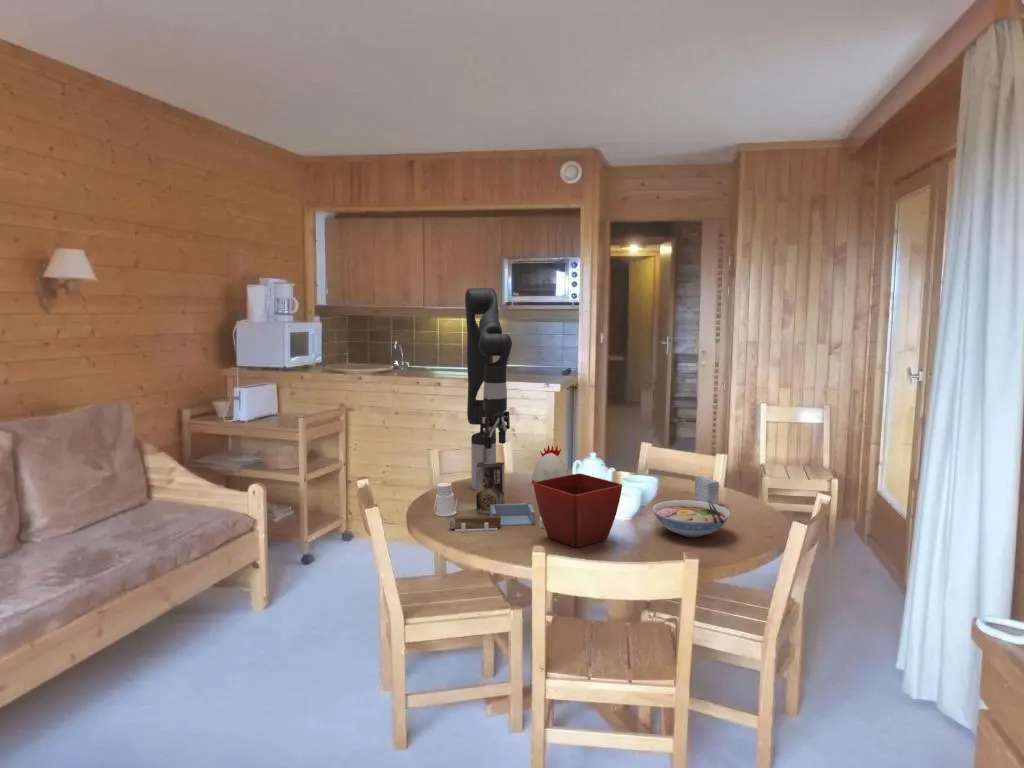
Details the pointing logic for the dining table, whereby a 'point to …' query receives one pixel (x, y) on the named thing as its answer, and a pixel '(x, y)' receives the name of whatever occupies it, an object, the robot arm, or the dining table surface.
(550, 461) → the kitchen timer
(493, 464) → the cookie box
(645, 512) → the dining table surface
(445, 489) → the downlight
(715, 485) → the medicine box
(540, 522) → the pin mount
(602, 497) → the plant pot
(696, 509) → the ramen bowl
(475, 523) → the lock bar
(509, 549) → the dining table surface
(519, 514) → the dock
